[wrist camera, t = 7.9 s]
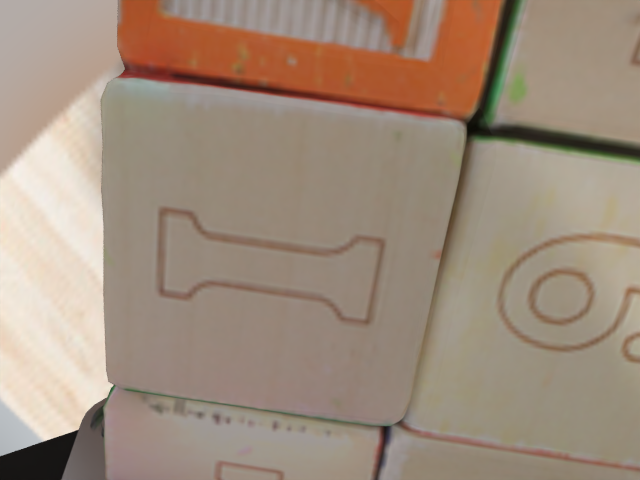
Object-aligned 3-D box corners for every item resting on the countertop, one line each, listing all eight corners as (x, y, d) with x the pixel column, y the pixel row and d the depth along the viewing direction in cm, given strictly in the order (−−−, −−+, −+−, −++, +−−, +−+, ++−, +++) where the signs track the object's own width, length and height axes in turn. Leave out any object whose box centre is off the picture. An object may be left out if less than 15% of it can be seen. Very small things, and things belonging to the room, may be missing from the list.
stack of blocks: (354, 488, 19) (388, 1052, 7) (246, 469, 19) (95, 1001, 7) (451, 86, 14) (1232, -392, 2) (301, 61, 14) (84, -576, 2)
